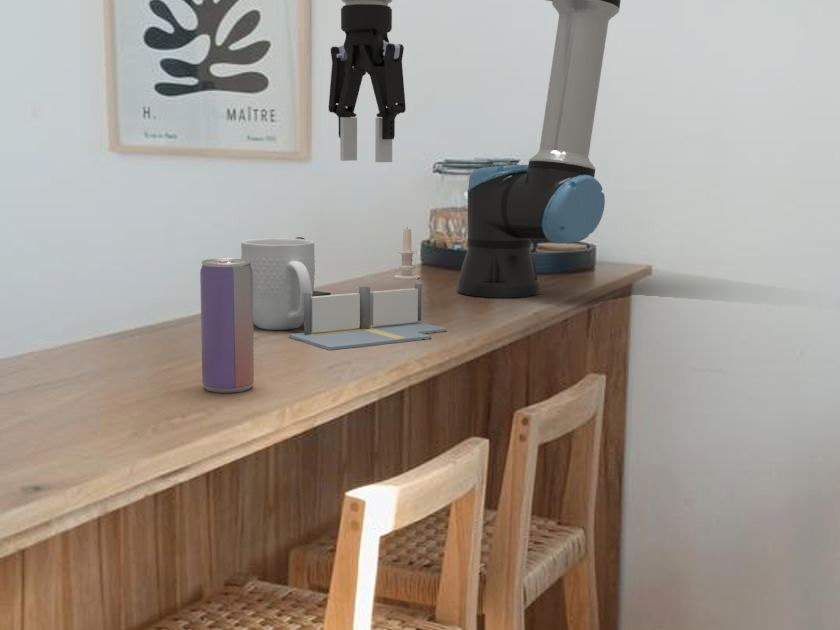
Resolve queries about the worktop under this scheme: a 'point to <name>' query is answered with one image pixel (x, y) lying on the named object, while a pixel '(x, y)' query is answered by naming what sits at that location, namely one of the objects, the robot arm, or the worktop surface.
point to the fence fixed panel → (337, 311)
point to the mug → (280, 280)
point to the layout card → (368, 335)
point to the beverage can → (227, 325)
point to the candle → (406, 258)
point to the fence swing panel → (395, 306)
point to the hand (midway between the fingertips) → (366, 161)
